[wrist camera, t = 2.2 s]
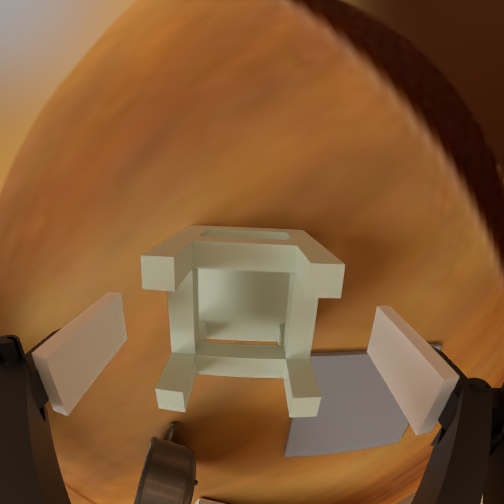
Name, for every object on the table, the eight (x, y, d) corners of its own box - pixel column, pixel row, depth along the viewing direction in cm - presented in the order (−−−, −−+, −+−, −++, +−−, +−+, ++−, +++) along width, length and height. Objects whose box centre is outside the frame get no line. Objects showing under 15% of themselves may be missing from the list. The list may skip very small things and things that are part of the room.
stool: (192, 326, 22) (158, 408, 12) (191, 224, 20) (140, 255, 11) (293, 330, 22) (316, 416, 12) (302, 229, 20) (345, 264, 11)
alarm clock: (161, 409, 24) (112, 546, 8) (212, 427, 24) (191, 569, 8) (145, 458, 26) (111, 561, 10) (187, 473, 26) (166, 578, 11)
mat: (284, 453, 25) (284, 456, 25) (303, 352, 22) (304, 356, 22) (397, 438, 25) (398, 442, 25) (438, 343, 22) (441, 345, 22)
